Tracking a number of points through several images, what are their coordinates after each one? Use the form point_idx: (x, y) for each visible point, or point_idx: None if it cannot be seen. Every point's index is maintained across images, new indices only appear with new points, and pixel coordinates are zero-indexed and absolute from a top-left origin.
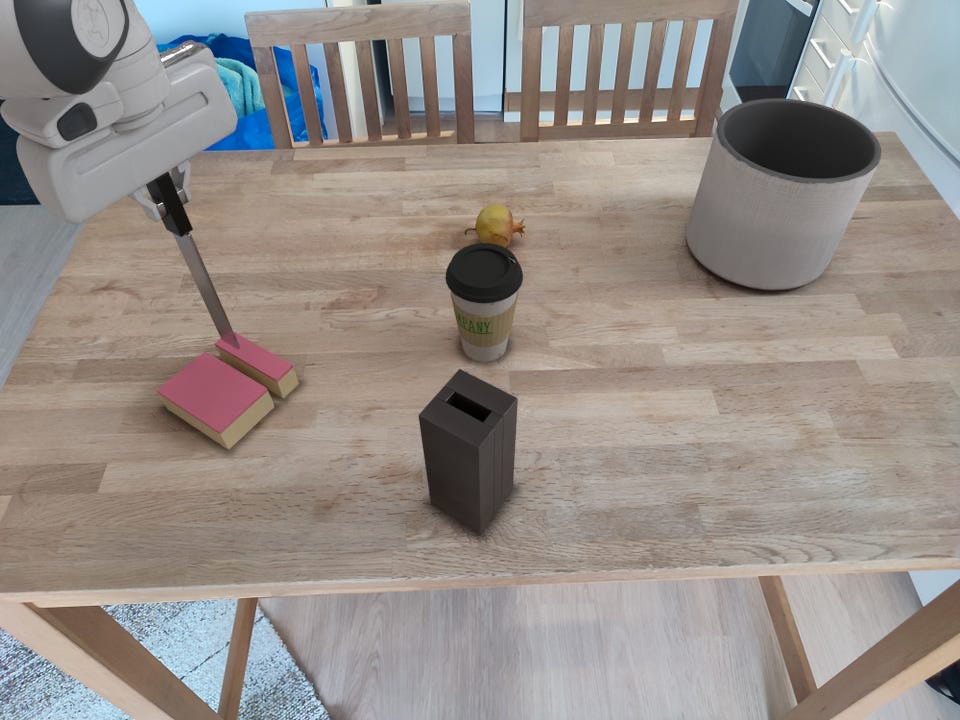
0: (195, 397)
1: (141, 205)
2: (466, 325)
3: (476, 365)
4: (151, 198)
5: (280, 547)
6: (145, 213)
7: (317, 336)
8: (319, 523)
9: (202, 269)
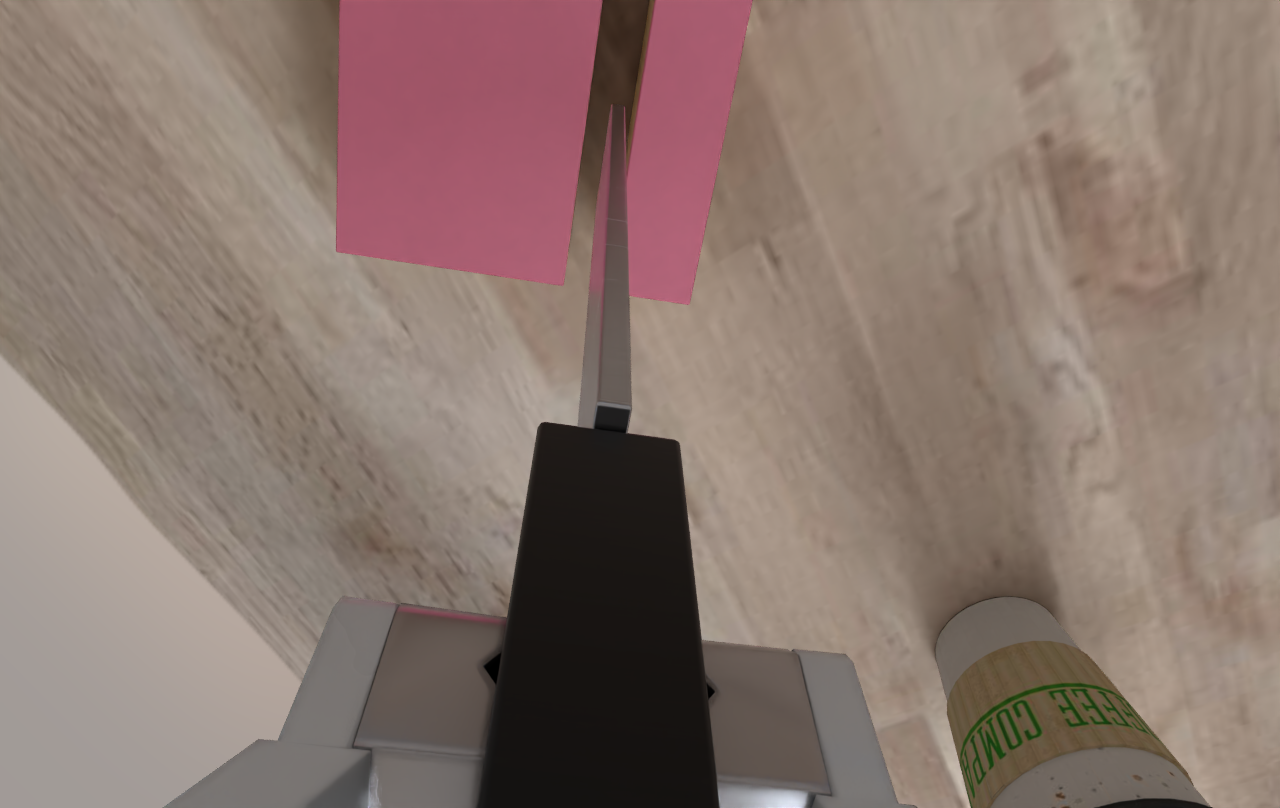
0: (401, 70)
1: (288, 715)
2: (971, 754)
3: (919, 651)
4: (436, 787)
5: (226, 508)
6: (331, 615)
7: (900, 202)
8: (328, 549)
9: (578, 420)
